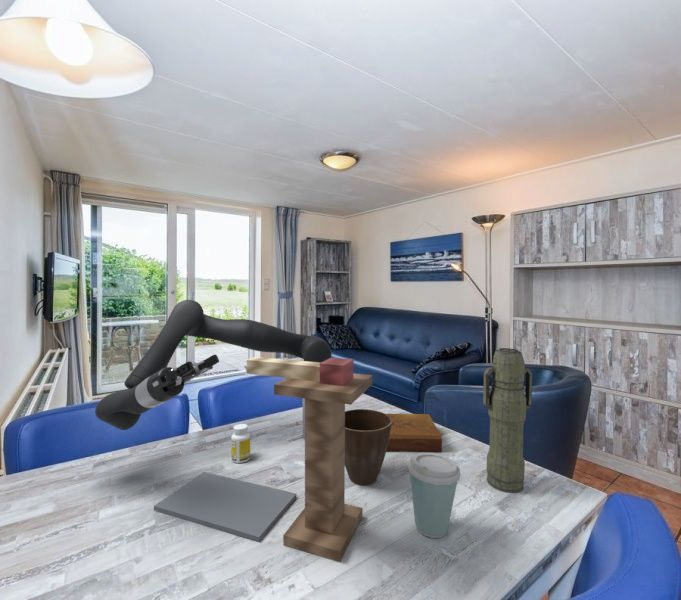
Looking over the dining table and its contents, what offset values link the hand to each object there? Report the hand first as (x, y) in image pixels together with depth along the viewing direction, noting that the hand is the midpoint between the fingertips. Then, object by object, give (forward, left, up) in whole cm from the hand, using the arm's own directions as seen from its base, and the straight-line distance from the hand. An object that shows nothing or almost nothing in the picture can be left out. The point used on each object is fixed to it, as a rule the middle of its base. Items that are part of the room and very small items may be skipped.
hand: (204, 361), depth 85 cm
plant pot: (-35, +17, -33) cm, 52 cm away
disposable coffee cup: (-33, +41, -33) cm, 63 cm away
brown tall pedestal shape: (-15, +27, -33) cm, 45 cm away
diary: (-61, +7, -34) cm, 71 cm away
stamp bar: (-12, +21, -1) cm, 24 cm away
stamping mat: (-3, +5, -33) cm, 34 cm away
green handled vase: (-62, +42, -33) cm, 82 cm away
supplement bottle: (-14, -13, -33) cm, 39 cm away
